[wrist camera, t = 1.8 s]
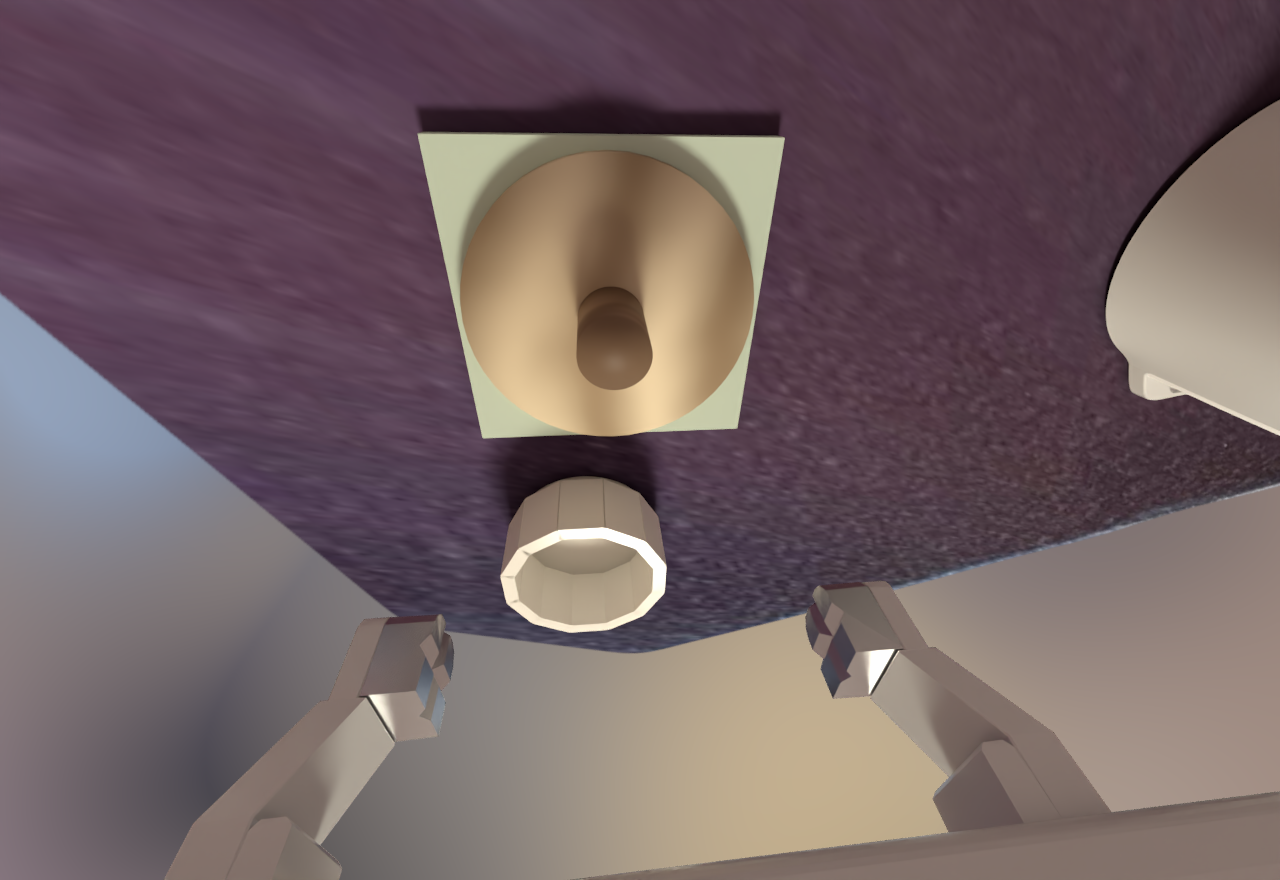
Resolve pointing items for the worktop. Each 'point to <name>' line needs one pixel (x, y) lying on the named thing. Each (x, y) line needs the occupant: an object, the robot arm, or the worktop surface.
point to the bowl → (583, 556)
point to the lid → (606, 293)
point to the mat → (491, 162)
